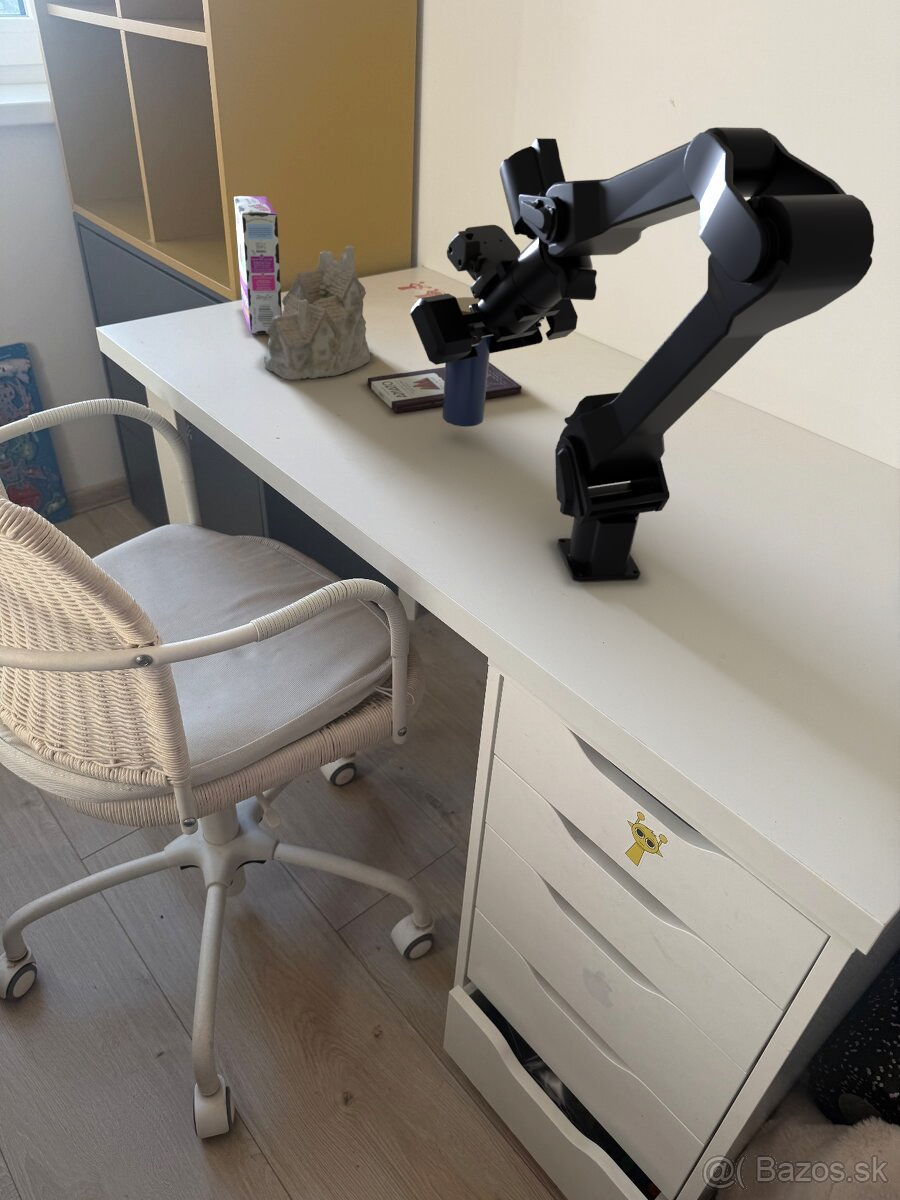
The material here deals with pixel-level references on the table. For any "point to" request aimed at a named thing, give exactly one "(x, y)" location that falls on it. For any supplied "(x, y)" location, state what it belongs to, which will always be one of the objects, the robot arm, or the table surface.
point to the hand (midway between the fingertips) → (459, 355)
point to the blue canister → (466, 382)
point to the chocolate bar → (431, 388)
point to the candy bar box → (258, 261)
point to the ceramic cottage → (320, 322)
